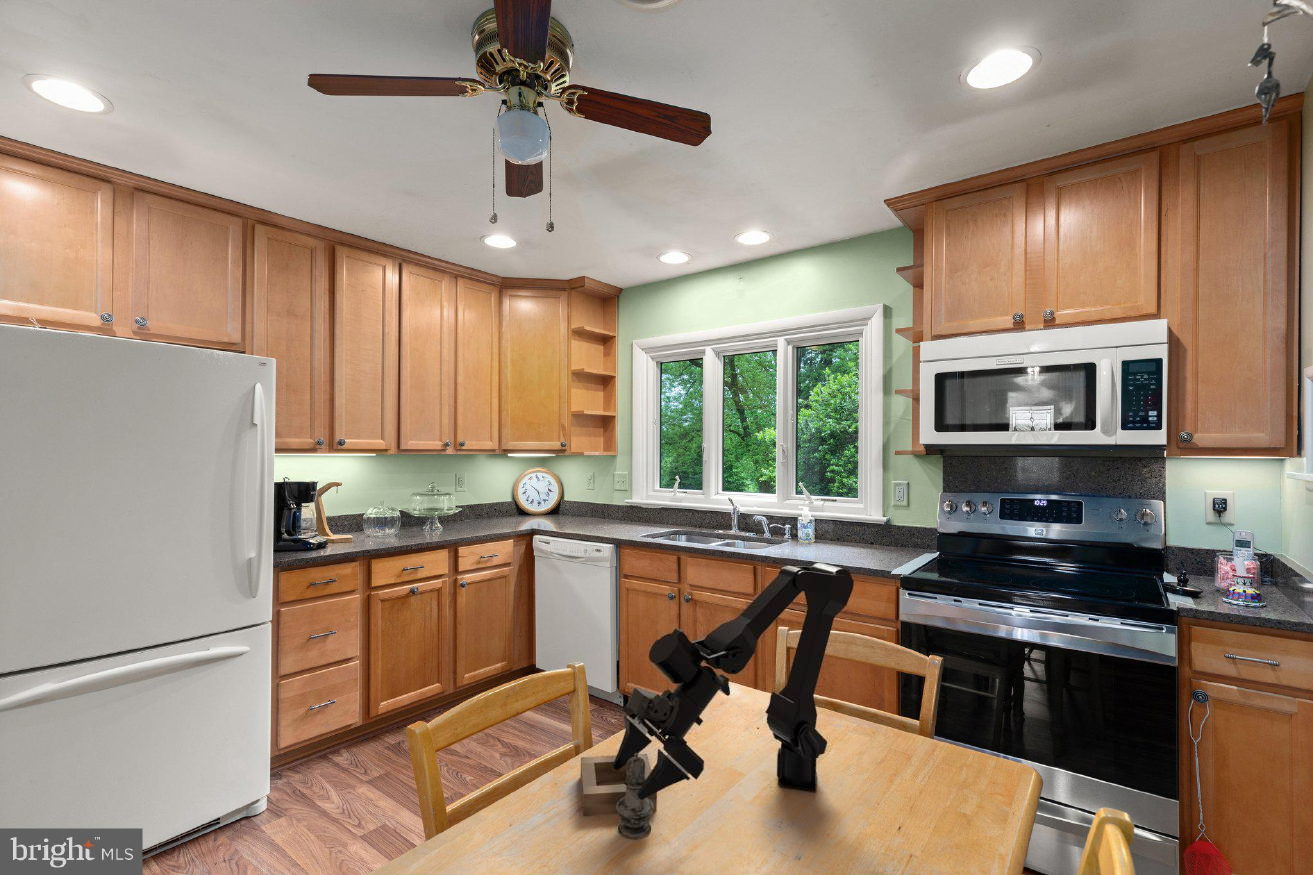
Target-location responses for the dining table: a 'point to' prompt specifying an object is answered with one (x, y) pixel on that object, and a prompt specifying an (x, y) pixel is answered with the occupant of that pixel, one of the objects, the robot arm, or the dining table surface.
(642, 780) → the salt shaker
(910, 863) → the dining table surface
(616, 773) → the holder
